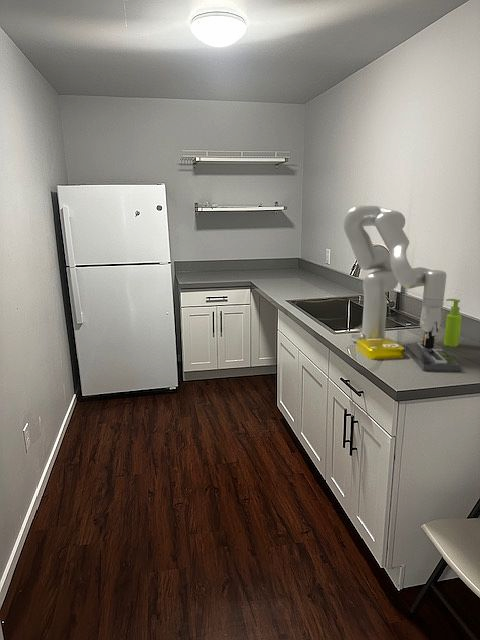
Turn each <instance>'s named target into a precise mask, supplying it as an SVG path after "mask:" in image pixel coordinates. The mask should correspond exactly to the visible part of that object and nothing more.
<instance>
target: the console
mask: <svg viewBox="0 0 480 640" xmlns="http://www.w3.org/2000/svg"><path fill="white" fill-rule="evenodd" d="M404 345H405V347H404V352H406V353H407V354H408V355H409V357H410V358H411V359H412V360H413V361H414V362H415V364H416V365H417V366H418V367H419V368H420V369H421V370H422V371H424V372H454V373H458V372H459V373H460V371H461V364H459V363H458V361H456V360H455V359H454V358H453V357H452V356H450V354H449V353H447V351H445V350H444V349H443V348H442V347H440V346H439V345H438V344H434V348H433V349H432V351H427V350H426V349H425V348H424V347H425V346H423V342H417V343H416V344H404Z"/></svg>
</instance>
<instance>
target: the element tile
mask: <svg viewBox="0 0 480 640" xmlns="http://www.w3.org/2000/svg"><path fill="white" fill-rule="evenodd" d="M356 350H357V351H358V352H360V354H362V356H364V357H365V358H367V359H369V360H375V361H376V360H386V359H387V360H388V359H389V360H390V359H392V360H393V359H402V358H404V357H405V356H404V355H405V347H403V346H402V345H401V344H399V343H397V342H396V341H394V340H392V339H390V338H389V337H384V338H377V339H375V338H374V339H359V340H358V339H356Z"/></svg>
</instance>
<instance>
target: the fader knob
mask: <svg viewBox="0 0 480 640" xmlns="http://www.w3.org/2000/svg"><path fill="white" fill-rule="evenodd" d="M429 335H430V334H429ZM426 338H427V334H425V339H424V345H425V340H426ZM424 348H425V347H424ZM425 349H426V350H427V351H432V349H428V348H425Z"/></svg>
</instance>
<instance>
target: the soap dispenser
mask: <svg viewBox="0 0 480 640" xmlns="http://www.w3.org/2000/svg"><path fill="white" fill-rule="evenodd" d="M445 301H447V302H450V301H451V302H453V304H452V305H453V306H450V311H449V313H447V314H446V318H445V319H446V321H445V328H444V336H443V345H444V346H447V347H452V348H453V347H455V348H456V347H458V346H459V345H460V344H459V343H460V334H461V328H462V327H461V326H462V319H463V318H462V317H463V316H462V315H461V314H460V310H461V309H460V308H461V307H459V303H460V302H461V299H456V298H447V299H445Z"/></svg>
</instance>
